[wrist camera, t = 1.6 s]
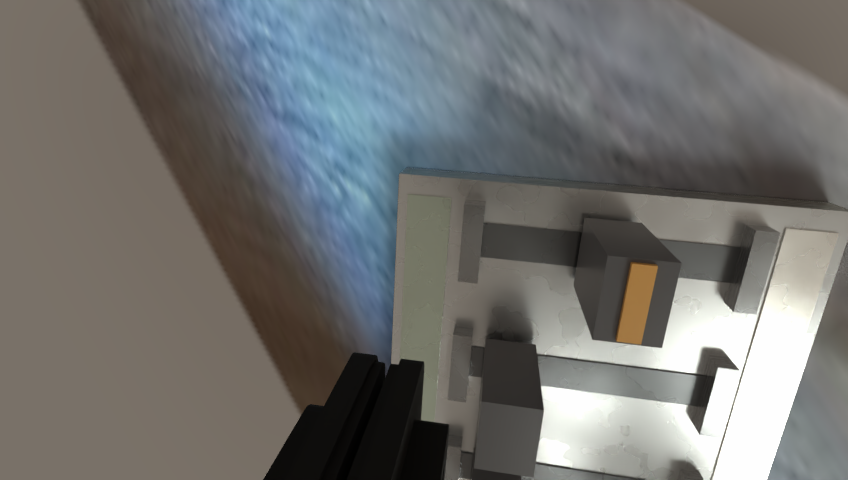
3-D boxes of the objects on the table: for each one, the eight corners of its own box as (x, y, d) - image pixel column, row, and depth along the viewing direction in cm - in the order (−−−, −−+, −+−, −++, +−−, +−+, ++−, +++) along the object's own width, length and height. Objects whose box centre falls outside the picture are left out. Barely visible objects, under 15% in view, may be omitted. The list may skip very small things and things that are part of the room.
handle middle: (527, 401, 27) (533, 477, 22) (479, 395, 27) (474, 468, 22) (535, 344, 26) (544, 410, 21) (485, 338, 26) (481, 401, 21)
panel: (727, 522, 30) (750, 567, 27) (392, 468, 33) (382, 504, 30) (829, 202, 24) (872, 218, 21) (406, 167, 27) (394, 177, 24)
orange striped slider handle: (628, 291, 24) (663, 350, 19) (573, 285, 25) (593, 342, 19) (641, 222, 23) (683, 264, 18) (584, 217, 24) (608, 257, 18)
